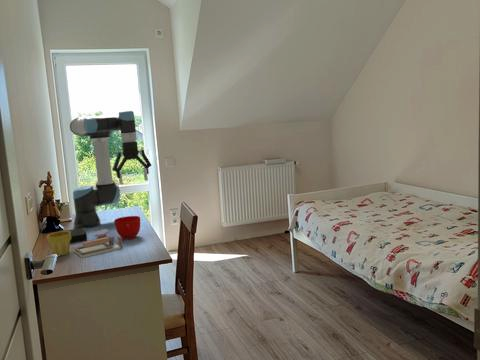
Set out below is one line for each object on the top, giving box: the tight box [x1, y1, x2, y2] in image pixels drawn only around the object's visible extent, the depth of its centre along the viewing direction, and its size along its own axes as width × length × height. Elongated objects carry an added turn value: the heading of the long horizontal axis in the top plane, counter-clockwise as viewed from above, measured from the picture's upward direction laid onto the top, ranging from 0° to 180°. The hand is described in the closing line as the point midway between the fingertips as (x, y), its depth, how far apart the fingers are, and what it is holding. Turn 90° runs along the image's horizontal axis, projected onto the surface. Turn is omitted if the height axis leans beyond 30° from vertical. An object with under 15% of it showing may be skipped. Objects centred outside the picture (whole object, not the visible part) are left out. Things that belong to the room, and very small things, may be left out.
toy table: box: [94, 228, 110, 240], centre depth 224 cm, size 10×9×6 cm
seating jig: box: [73, 235, 123, 258], centre depth 211 cm, size 13×19×6 cm
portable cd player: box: [52, 228, 88, 244], centre depth 236 cm, size 16×17×4 cm
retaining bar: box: [82, 235, 115, 247], centre depth 211 cm, size 15×3×2 cm, turn 125°
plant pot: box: [46, 230, 71, 256], centre depth 209 cm, size 10×10×10 cm
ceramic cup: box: [114, 215, 141, 240], centre depth 228 cm, size 13×17×10 cm
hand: (133, 182), depth 231 cm, fingers open, 13 cm apart
